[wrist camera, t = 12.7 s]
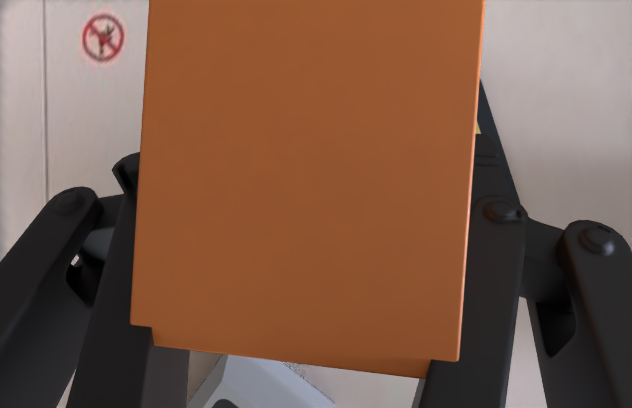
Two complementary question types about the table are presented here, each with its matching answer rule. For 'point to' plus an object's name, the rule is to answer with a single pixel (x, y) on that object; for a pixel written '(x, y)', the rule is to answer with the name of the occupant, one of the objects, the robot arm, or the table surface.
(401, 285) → the toy van
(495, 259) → the robot arm
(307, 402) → the grey low boxy piece
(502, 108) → the table surface
